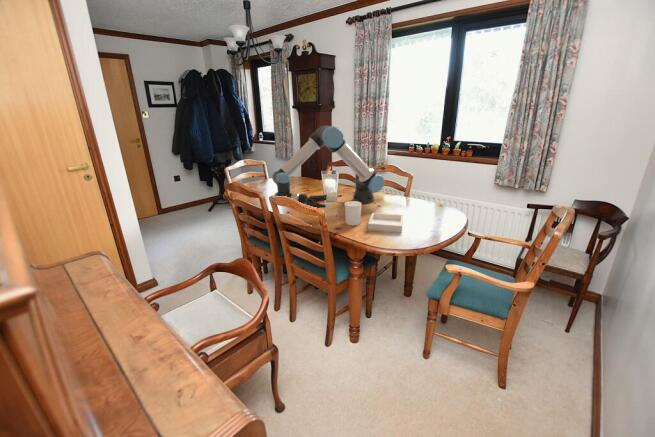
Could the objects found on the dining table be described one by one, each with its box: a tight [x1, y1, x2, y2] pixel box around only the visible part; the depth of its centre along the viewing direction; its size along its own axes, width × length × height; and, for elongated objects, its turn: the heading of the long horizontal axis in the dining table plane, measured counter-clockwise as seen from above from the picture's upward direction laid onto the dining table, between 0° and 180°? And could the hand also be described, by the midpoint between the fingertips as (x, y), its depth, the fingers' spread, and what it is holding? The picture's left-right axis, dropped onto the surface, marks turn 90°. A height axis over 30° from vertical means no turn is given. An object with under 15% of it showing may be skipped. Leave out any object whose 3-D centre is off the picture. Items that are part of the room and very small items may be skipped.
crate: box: [367, 212, 404, 234], centre depth 175 cm, size 18×18×4 cm
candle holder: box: [344, 200, 363, 227], centre depth 178 cm, size 10×10×12 cm
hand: (334, 202), depth 179 cm, fingers open, 13 cm apart
